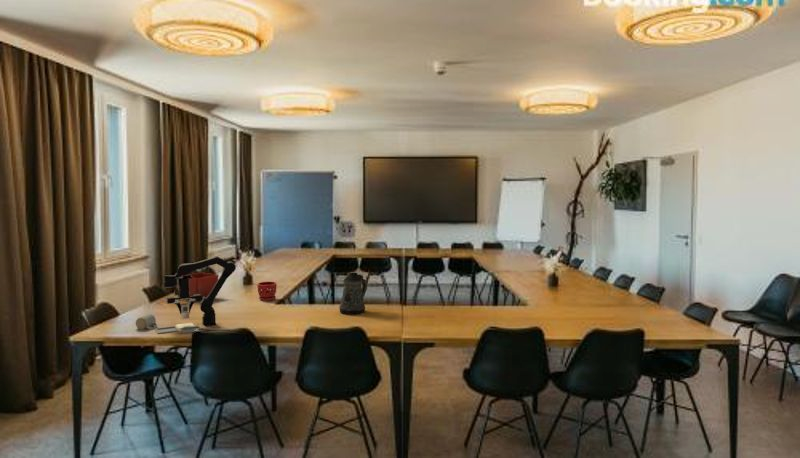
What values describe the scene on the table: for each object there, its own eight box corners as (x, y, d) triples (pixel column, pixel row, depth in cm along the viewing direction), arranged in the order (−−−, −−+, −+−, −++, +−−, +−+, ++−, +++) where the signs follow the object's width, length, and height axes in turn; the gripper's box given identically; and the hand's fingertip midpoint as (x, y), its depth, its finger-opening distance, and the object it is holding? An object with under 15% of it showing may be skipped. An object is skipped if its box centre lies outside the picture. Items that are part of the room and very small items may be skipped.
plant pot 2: (257, 298, 386) (256, 281, 385) (275, 297, 390) (275, 280, 389) (258, 302, 373) (257, 285, 373) (277, 301, 377) (277, 284, 376)
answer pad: (191, 323, 313) (191, 322, 313) (194, 327, 306) (194, 326, 306) (175, 325, 309) (175, 324, 309) (177, 329, 301) (177, 328, 301)
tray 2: (199, 328, 304) (198, 325, 304) (202, 332, 295) (202, 330, 295) (179, 330, 298) (179, 328, 298) (182, 334, 290) (182, 332, 290)
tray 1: (175, 328, 303) (175, 326, 303) (178, 332, 295) (178, 330, 295) (155, 330, 298) (155, 328, 298) (158, 334, 289) (157, 332, 289)
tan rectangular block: (188, 316, 310) (187, 303, 309) (189, 318, 306) (188, 304, 306) (180, 317, 308) (180, 303, 307) (181, 319, 304) (181, 305, 304)
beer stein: (335, 314, 338) (335, 274, 336) (345, 307, 357) (345, 270, 355) (360, 315, 334) (360, 276, 332) (369, 309, 353) (369, 271, 351)
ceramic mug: (134, 329, 299) (134, 316, 299) (144, 326, 307) (144, 313, 307) (151, 331, 297) (150, 317, 296) (160, 327, 305) (160, 314, 304)
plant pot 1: (219, 297, 388) (219, 274, 387) (197, 302, 372) (196, 278, 370) (202, 294, 398) (201, 272, 397) (179, 299, 382) (179, 275, 381)
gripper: (198, 282, 317) (199, 309, 318) (164, 285, 308) (165, 312, 309) (202, 285, 308) (203, 312, 309) (167, 289, 298) (168, 316, 299)
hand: (184, 313), depth 307 cm, fingers closed on tan rectangular block, 4 cm apart
